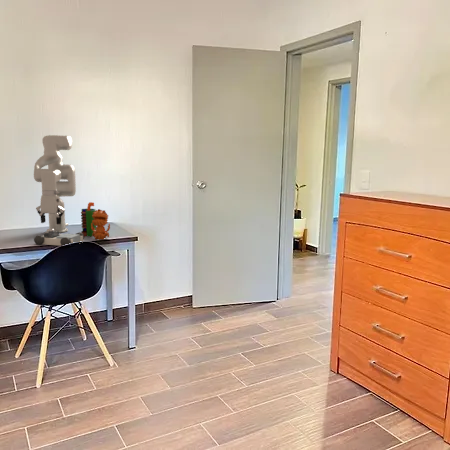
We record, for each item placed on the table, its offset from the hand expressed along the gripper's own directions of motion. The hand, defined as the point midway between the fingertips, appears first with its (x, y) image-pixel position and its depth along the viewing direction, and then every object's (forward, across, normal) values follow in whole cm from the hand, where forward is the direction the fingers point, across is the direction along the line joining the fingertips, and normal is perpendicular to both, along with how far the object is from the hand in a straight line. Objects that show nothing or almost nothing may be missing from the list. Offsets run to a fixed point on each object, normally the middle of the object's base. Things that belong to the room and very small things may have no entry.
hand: (51, 223), depth 250 cm
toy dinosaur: (+11, -22, -16) cm, 29 cm away
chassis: (+11, -6, +1) cm, 12 cm away
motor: (+12, -10, -24) cm, 28 cm away
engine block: (+10, 0, +1) cm, 10 cm away
